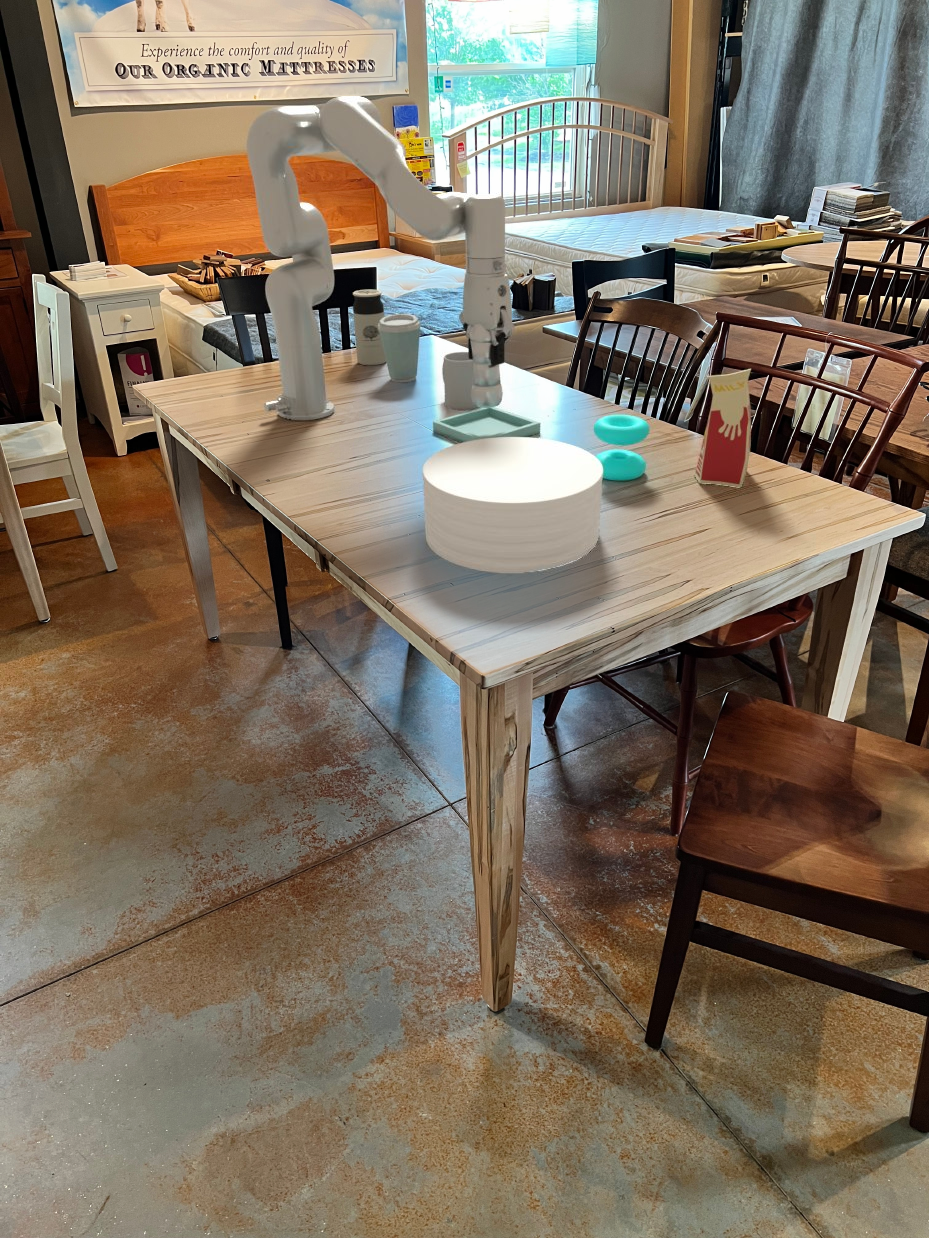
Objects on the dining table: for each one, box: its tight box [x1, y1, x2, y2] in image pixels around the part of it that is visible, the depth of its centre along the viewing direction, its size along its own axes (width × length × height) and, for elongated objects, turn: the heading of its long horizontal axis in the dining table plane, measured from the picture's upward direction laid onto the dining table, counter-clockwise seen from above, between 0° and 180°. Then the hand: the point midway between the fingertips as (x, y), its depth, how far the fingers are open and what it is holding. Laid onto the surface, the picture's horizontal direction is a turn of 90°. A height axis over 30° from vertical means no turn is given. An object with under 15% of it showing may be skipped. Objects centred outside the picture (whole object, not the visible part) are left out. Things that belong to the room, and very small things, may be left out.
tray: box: [432, 407, 541, 443], centre depth 182 cm, size 16×16×2 cm
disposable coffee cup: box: [377, 313, 422, 383], centre depth 215 cm, size 11×11×15 cm
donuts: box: [593, 414, 650, 482], centre depth 159 cm, size 10×10×10 cm
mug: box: [441, 351, 479, 411], centre depth 198 cm, size 12×8×11 cm
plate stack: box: [422, 436, 604, 574], centre depth 138 cm, size 28×28×12 cm
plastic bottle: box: [470, 324, 504, 408], centre depth 175 cm, size 6×7×20 cm
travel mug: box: [352, 289, 387, 366], centre depth 229 cm, size 8×8×18 cm
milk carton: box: [694, 368, 752, 488], centre depth 154 cm, size 9×9×20 cm
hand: (486, 360), depth 175 cm, fingers closed on plastic bottle, 6 cm apart
